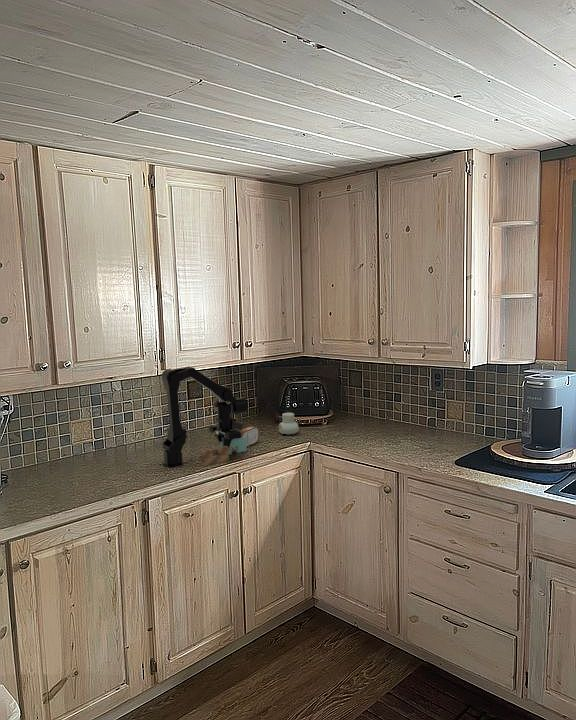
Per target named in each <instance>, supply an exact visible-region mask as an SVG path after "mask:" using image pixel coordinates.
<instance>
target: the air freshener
mask: <svg viewBox="0 0 576 720" xmlns="http://www.w3.org/2000/svg"><path fill="white" fill-rule="evenodd" d="M281 415H282V416H281V417H282V422H280V423H279V424H278V430H279V431H278V432H279V433H280V434H281V435H283V434H286V436H289V435H291V434H292V435H295V434H297V433H298V432H299V430H300V429H299V424H298V422H297V421H295V413H294V412H284V413H282V414H281ZM292 435H291V436H292Z"/></svg>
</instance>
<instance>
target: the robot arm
mask: <svg viewBox="0 0 576 720" xmlns="http://www.w3.org/2000/svg"><path fill="white" fill-rule="evenodd" d="M188 378H191V379H192V380H193V381H195V382H196V383H198V384H200V385H201V386H203V387H204V388H205V389H207V390H208V391H210V393H211V394H212V395H213V396H214V397H216V399H217V400H215V402H214V403H212V407H215V408H217V417H216V418H215V421H217V424H211V425H210V426H209V427H208V431H209V433H211V434H213V433H214V432H215V433H214V436H215V438H216V440H217V441H218V443H219V444H220V441H222V442H223V445H224V446H228V447H230V444H231V441H232V439H237V438H241V437H242V433H241V432H240V430H242V429H244V423H243V422H239V421H237V418H234V417H232V415H239V414H240V415H241V414H247V413H248V411H249V405H248V403H247V401H246V397H239V398H235V396H234V395H233V390H232V389H230V388H228V387H226V386H224V385H221V384H218V383H216V382H214V381H213V380H211V379H210V378H208V377H207V376H205V375H204V374H203V373H201V372H199V370H197V369H196V368H195V367H193V366H185V367H181V368H174V369H171V368H167V369H165V370H163V372H162V373H161V381H162V383H163V387H164V389H165V391H166V398H167V408H168V410H167V411H168V420H169V426H168V429H167V435H166V436H167V438H166V439H165V440H164V441H163V443H162V445H161V446H162V447H163V449H164V450H163V454H164V455H163V456H164V457H163V459H164V460H163V461H164V462H162V465H164V466H165V467H167V468H173V467H178V466H182V465H184V463H183V452H182V451H183V448H184V445H185V444H186V441H187V439H188V437H187V429H186V428H185V427H183V426H182V423H181V412H180V402H179V401H180V400H179V388H180V385H181V381H185V380H186V379H188ZM219 400H220V401H219Z"/></svg>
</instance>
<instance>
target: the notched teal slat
mask: <svg viewBox="0 0 576 720" xmlns="http://www.w3.org/2000/svg"><path fill="white" fill-rule="evenodd" d="M222 446H224V445H223V442H222V441H220V443H219V447H222ZM233 447H235V452H236V453H238V454H240V453H244V452H247V451H248V449H247V448H248V447H246V438H245V437H242V438H237V439H232V441H231V444H230V447H229V456H230V455H232V448H233Z"/></svg>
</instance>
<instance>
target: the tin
mask: <svg viewBox="0 0 576 720" xmlns="http://www.w3.org/2000/svg"><path fill="white" fill-rule="evenodd" d="M239 431H240V432H241V433H242V437H245V438H246V448H248V447H251V446H253V445H255V444H256V443H258V441H259V438H260V437H259V436H260V431H259V428H258V427H257V426H253V425H250V426H247V427H245V428H244V427H243V428H242V430H239ZM242 437H241V438H242ZM254 443H255V444H254ZM252 444H253V445H252ZM250 445H251V446H250ZM247 446H248V447H247Z"/></svg>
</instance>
